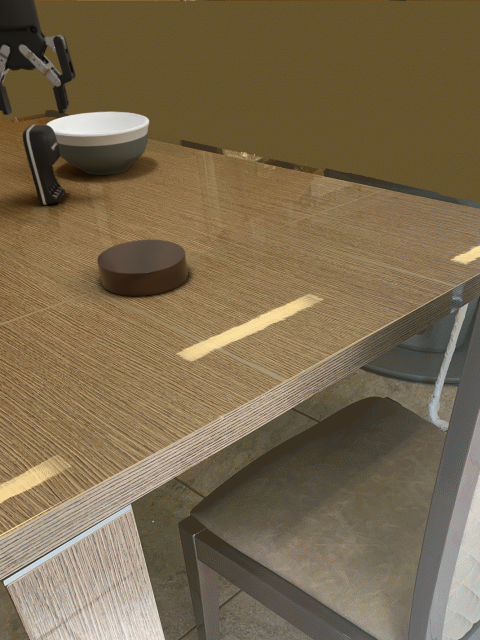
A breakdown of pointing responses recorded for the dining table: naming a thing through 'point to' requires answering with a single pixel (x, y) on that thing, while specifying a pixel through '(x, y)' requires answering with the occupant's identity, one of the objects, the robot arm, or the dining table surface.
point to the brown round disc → (142, 267)
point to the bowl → (101, 140)
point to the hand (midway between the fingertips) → (35, 113)
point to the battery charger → (43, 162)
